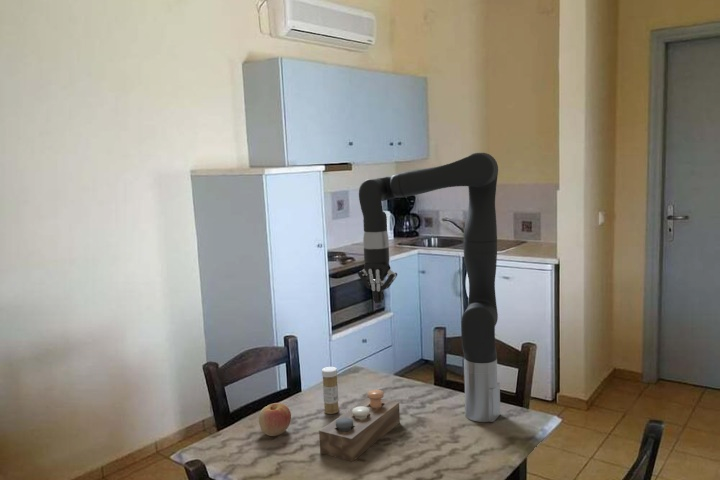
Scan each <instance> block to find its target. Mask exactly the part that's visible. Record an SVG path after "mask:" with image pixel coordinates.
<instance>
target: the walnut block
mask: <svg viewBox="0 0 720 480" xmlns="http://www.w3.org/2000/svg"><path fill="white" fill-rule="evenodd" d="M381 402H382V407H381V408H379V409H376V408H371V407H370V398H368V397H366V398H364V399H363V400H361V401H360V402H359V403H357V404H356V405H354V406H353V407H352V408H350V409H349V410H347V411H345V412H344V413H343V414H341V415H340V416H338V417H337V418H335V419H334V420H332V421H331V422H330V423H328V424H327V425H325V426H323V428H321V429H319V430H318V435H319V436H318V439H319V453H321V454H324V455H328V456H331V457H334V458H338V459H342V460H345V461H349V462H354V461H355V460H356V459H358V458H359V457H360V456H361V455H362V454H364V453H365V452H366V451H367V450H368V449H370V448H371V447H372V446H373V445H374V444H376V443H377V442H378V441H379V440H381V439H382V438H383V437H384V436H385V435H387V434H388V433H389V432H391V430H393V429H394V428H395V427H396V426H397V425H398V424H400V422H401V419H400V402H398V401H394V400H388V399H383V398H381ZM361 406H363V407H367V408H369V415H367V418H366V419H364V420H360V419H356V418H355V416H353V414H352V410H353V408H355V407H361ZM340 418H351V419H352V420H353V427H351V430H349V431H348V432H343V431H339V428H337V427H336V420H338V419H340Z"/></svg>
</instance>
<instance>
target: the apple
mask: <svg viewBox="0 0 720 480" xmlns="http://www.w3.org/2000/svg"><path fill="white" fill-rule="evenodd" d="M291 420H292V413H291V409H290V408H289V407H288V406H287V405H286V404H284V403H282V402H280V403H279V402H274V403H270V404H268V405H267V406H264V407H263V408H262V409H261V411H260V412H259V416H258V425H259V428H260V431H262V432H263V433H264V434H266V435H267V436H269V437H270V436H271V437H276V436H279V435H282V434H283V433H284V432H285V431H287V429H289V427H290V424H291Z"/></svg>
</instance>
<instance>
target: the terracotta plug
mask: <svg viewBox="0 0 720 480" xmlns="http://www.w3.org/2000/svg"><path fill="white" fill-rule="evenodd" d="M366 393H367V397H368V398H370V407H371V408H376V409H379V408H381V407H382V402H381V399H383V398H384V391H383V390H381V389H370V390H368V391H367V392H366ZM367 397H366V398H367Z"/></svg>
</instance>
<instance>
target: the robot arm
mask: <svg viewBox="0 0 720 480" xmlns="http://www.w3.org/2000/svg"><path fill="white" fill-rule="evenodd" d="M498 176H499V166H498V162H497V161H496V159H495V157H493V156H492V155H491V154H489V153H487V152H475V153H471V154H470V155H469V154H468V156H466V157H463V158H461V159H458V160H455V161H453V162H450V163H446V164H444V165H439V166H433V167H427V168H425V167H424V168H419V169H414V170H408V171H404V172H400V173H396V174H394V175H389V176H383V177H377V178H368V179H366V180H364V181H362V183H361V184H360V185H359V189H358V201H359V205H360V209H361V214H362V217H363V221H362V222H363V238H362V239H363V240H362V241H363V243H362V244H363V245H362V246H363V261H364V265H363V269H362V270H360V271H359V272H357V275H358V277H359V278H360V280H361V281H362V283H363V284H364V285H365V287H366V288H367V289H368V290H369V289H370V290H371V291H372V296H373V297H372V299H373V302H374V303H375V304H381V303H383V301H384V300H385V299H384V298H385V297H384V290H387V289H389V288H390V287H391V285H392V283H393V282H394V281H395V280H396V278H397V277H398V273H397V272H393V270H391V266H390V248H389V247H390V243H389V241H390V240H389V234H388V219H387V218H388V216H387V213H386V212H385V211H384V209H383V203H382V202H384V201H388V200H389V201H390V200H393V199H396V198H406V197H411V196H416V195H422V194H426V193H429V192H433V191H437V190H441V189H446V188H453V187H455V188H456V187H468V207H467V208H468V209H467V213H466V217H465V223H464V230H463V259H464V265H465V269H466V274H467V278H468V300H467V307H466V309H465V310H464V312H463V313H462V316H461V323H460V325H461V347H462V351H463V364H464V366H463V367H464V369H463V372H464V411H465V413H464V414H465V417H466V418H467V419H468V420H470V421H473V422H480V423H487V422H488V423H489V422H490V423H494V422H495V421H496V420H497V419H498V418H499V417H500V415H501V387H500V386H501V385H500V382H498V350H497V348H496V333H495V332H496V329H495V328H496V325H497V323H498V319H499V317H498V316H499V315H498V307H497V298H496V297H497V296H496V285H495V284H496V274H497V263H498V262H497V260H498V233H497V232H498V229H497V211H496V196H497V195H496V193H497V182H498ZM386 277H387V279H386Z"/></svg>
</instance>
